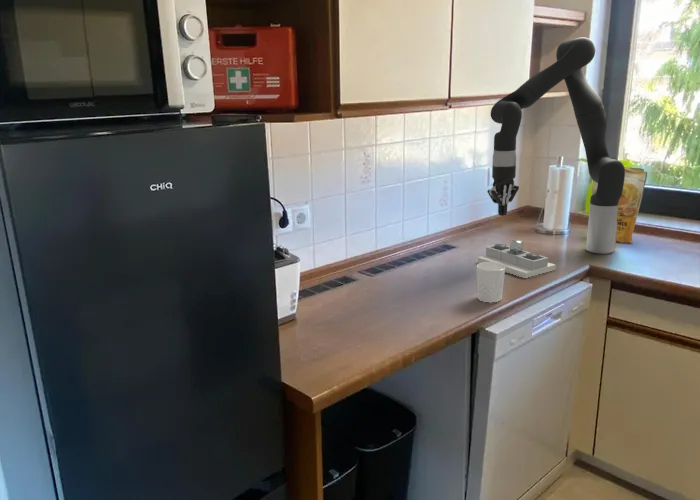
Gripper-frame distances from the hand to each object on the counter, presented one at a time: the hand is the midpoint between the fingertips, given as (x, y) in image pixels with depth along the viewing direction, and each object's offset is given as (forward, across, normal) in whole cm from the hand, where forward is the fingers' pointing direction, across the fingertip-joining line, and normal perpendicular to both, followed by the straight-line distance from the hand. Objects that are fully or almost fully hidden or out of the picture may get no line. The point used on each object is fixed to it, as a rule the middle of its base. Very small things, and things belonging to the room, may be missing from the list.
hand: (502, 215), depth 194 cm
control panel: (+16, 0, +7) cm, 18 cm away
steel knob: (+11, 0, +7) cm, 13 cm away
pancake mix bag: (+17, -55, +5) cm, 58 cm away
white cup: (+16, +29, +23) cm, 41 cm away
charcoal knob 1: (+14, 0, 0) cm, 14 cm away
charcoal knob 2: (+14, 0, +14) cm, 20 cm away
